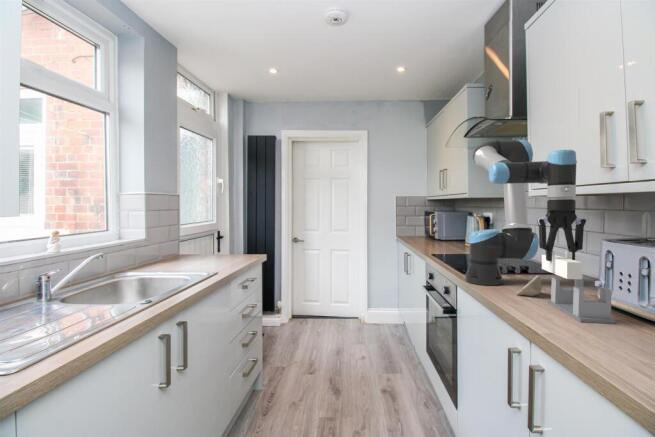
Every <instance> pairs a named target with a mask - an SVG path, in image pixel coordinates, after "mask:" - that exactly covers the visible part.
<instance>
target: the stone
mask: <svg viewBox="0 0 655 437" xmlns="http://www.w3.org/2000/svg"><path fill="white" fill-rule="evenodd" d="M542 287H543V285H542V281H541V275H540V274H537V275H536V276H535V277H534V278H532V279H531V280H529V282H528V283H527V284H526V285H524V286H523V287H521V289H519V290H518V291H517V292H516V295H517V296H525V297H527V296H528V297H535V296H538V295H539V294H541V292H542Z"/></svg>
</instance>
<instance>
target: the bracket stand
mask: <svg viewBox="0 0 655 437" xmlns="http://www.w3.org/2000/svg"><path fill="white" fill-rule="evenodd" d="M560 281H561V278H560V277H557V276H551V288H550V289H551V290H550V291H551V292H550V299H547V303H548V304H551V306H553V307H554V308H556V309H558V310H560V311H561V312H563V313H564V314H566V315H568V316H570V317H571V318H573V319H574V320H576V321H578V322H580V323H589V324H590V323H591V324H592V323H595V324H612V325H613V324H614V325H615V324H616V320H615V319H614V318H612V289H610V288H607V287H602V286H600V287H599V291H600V292H599V299H598V300H597V299H596V300H595V299H584V294H585V293H584V286H585V285H584V284H585V280H584V278H582V279H574V286H573V288H564V287H563V288H561V286H560V284H561V282H560Z"/></svg>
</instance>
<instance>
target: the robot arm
mask: <svg viewBox="0 0 655 437" xmlns="http://www.w3.org/2000/svg"><path fill="white" fill-rule="evenodd" d="M532 147H533V146H532V144H531V142H529V141H528V140H527V139H506V140H503V139H502V140H489V141H485V142H483V143H482V144H480V145H478V146H477V147H476V148H475V149H474V151H473V154H472V160H473V162H474V163H475V165H477V166H478V167H479V168H483V169H485V170H486V171H488V178H489V182H490V183H491V184H493V185H494V184H496V185H497V184H498V185H503V203H504V222H505V225H504V226H503V227H502V228H501V232H500V231H499V230H498V229H497V228H495V229H494V228H491V229H481V230H474V231H473V232H471V233H470V234H469V235H470V236H469V242H468V243H469V265H468V267H467V271H466V273H465V275H464V276H465V277H464V280H465V282H467V283H469V284H473V285H479V286H500V285H502V284H503V280H504V279H503V276H502V273H501V270H500V266H499V260H520V261H522V260H531V259H533V258H534V257H535V256H536V255H537V252H538V249H539V248H540V249H541V250H544V251H545V255H546V260H547V261H549V271H551V272H555V255H556V251H554V247H555V246H554V245H555V242H556V238H557V234H558V232H559V229H561V228H562V230H563V233H564V237H565V242H566V246H567V250H564V258H568V259H572V260H575V261H576V253H577V252H578V251H582V250H583V247H584V227H585V226H586V223H587V219H586V218H581V217H578V216H577V214H576V211H577V210H576V200H575V199H574V198H576V196H577V194H576V193H577V191H576V190H577V184H576V182H577V164H578V163H577V162H578V161H577V153H576V151H575V150H573V149H559V150H558V149H557V150H553V151H550V152H549V153H548V154H547V159H546V160H545V161H544V160H543V161H539V160H538V161H533V160H534V159H533V157H534V151H533V148H532ZM526 184H541V185H544V184H547V191H546V194H547V195H546V197H547V199H548V200H547V201H546V212H547V213H546V215H545V216H544V217H541V218H537V219H536V222H537V225H538V234H537V233H536V232H533V228H532V227H531V226H530V225H529V224H528V210H527V193H526V192H527V190H526ZM547 222H548V224H550V225H549V232H548V237H547ZM573 224H575V226H574V227H575V232H574V234H573V226H572V225H573ZM551 272H550V273H551Z"/></svg>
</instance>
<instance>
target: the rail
mask: <svg viewBox="0 0 655 437" xmlns="http://www.w3.org/2000/svg"><path fill="white" fill-rule="evenodd" d="M541 270H544V271H546V272H549V273H552V274H554V275H556V276H558V277H561V278H563V279H567V280H575V279H583V262H582V261H578V260H576V259H575V260H572V259H568V258H565V256H560V255H556V254H555V272H551V271H549V261H547V260H546V254H541Z"/></svg>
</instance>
